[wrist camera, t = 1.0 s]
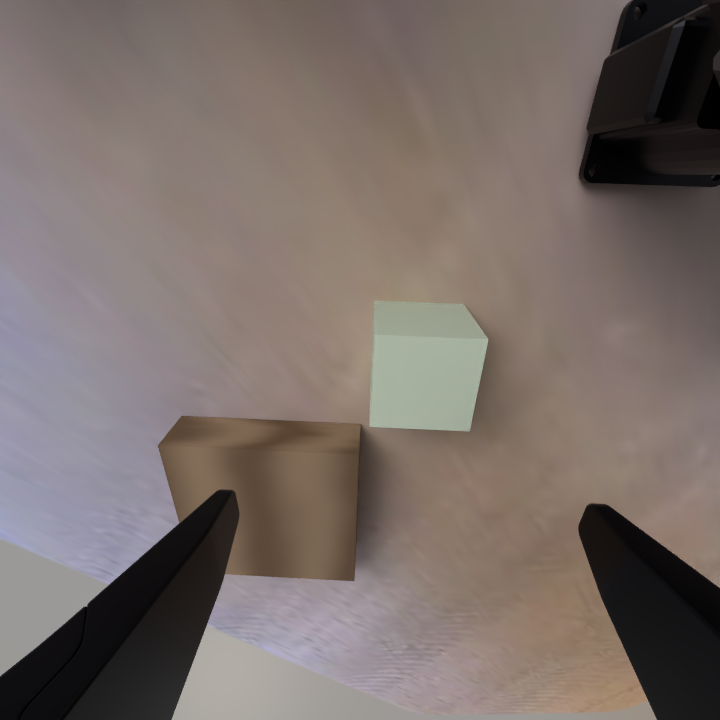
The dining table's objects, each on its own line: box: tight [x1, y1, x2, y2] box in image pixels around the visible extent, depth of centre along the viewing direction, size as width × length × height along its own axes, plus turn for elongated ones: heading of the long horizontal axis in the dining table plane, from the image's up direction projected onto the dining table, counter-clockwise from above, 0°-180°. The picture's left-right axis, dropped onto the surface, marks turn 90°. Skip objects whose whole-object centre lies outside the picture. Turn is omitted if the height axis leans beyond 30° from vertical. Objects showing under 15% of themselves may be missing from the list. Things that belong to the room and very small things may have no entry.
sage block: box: [369, 301, 489, 431], centre depth 19 cm, size 5×5×5 cm
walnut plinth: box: [158, 416, 361, 581], centre depth 26 cm, size 12×12×3 cm
